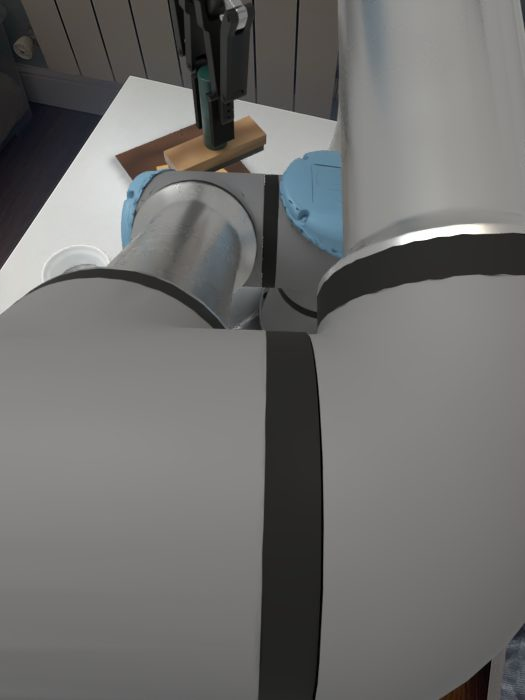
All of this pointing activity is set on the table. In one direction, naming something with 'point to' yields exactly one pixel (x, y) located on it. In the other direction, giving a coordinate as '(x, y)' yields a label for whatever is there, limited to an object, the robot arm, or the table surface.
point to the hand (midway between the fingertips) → (215, 131)
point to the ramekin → (73, 260)
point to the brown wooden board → (153, 153)
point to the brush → (200, 149)
